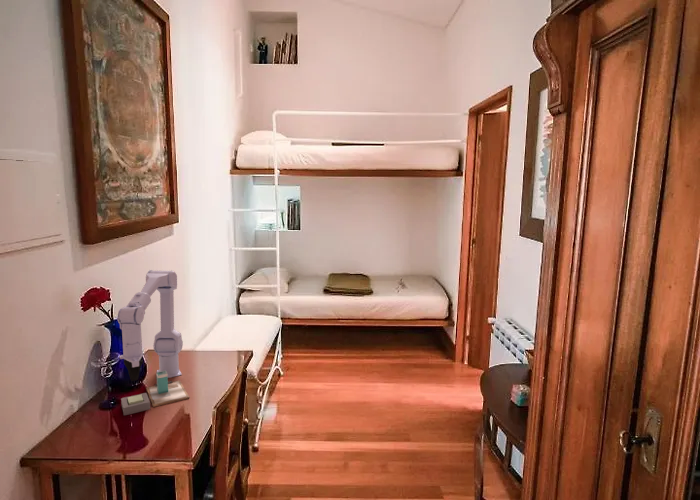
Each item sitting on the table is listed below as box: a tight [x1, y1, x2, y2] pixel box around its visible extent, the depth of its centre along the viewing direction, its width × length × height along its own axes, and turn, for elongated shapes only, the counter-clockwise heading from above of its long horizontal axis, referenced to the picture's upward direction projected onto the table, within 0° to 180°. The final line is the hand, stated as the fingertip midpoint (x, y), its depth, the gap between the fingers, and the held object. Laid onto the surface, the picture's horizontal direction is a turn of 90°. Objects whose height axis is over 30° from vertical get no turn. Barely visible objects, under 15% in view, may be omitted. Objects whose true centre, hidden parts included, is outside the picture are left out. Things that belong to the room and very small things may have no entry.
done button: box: [127, 393, 143, 405], centre depth 145 cm, size 4×4×3 cm
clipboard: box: [145, 380, 190, 408], centre depth 155 cm, size 16×12×1 cm
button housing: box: [120, 392, 151, 416], centre depth 145 cm, size 8×8×3 cm
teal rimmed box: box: [155, 371, 169, 394], centre depth 155 cm, size 3×3×7 cm
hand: (134, 379), depth 144 cm, fingers closed
